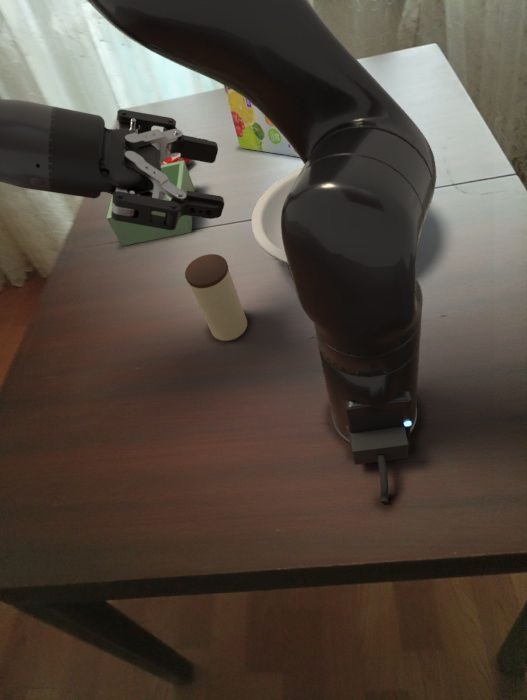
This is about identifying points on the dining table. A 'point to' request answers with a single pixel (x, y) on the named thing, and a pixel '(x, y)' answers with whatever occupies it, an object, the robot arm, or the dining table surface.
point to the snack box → (255, 127)
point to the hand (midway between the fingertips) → (219, 179)
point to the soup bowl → (272, 216)
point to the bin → (141, 233)
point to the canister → (217, 296)
